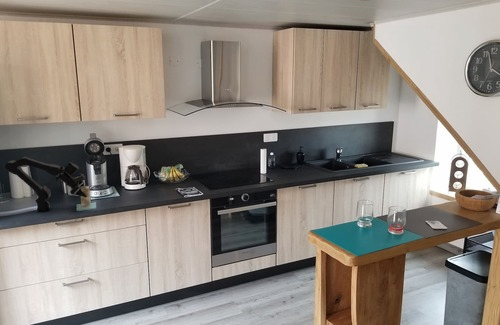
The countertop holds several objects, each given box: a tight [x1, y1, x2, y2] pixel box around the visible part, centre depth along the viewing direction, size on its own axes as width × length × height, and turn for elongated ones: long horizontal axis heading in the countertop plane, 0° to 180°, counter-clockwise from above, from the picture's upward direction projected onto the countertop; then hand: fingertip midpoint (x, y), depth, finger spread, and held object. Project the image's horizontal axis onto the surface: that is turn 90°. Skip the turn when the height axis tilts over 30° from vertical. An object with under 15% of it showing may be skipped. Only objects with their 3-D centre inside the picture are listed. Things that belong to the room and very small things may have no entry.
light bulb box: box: [67, 179, 86, 197], centre depth 285 cm, size 11×7×11 cm, turn 75°
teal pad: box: [76, 201, 97, 212], centre depth 258 cm, size 12×12×1 cm
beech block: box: [80, 185, 92, 207], centre depth 257 cm, size 5×5×13 cm
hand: (87, 194), depth 257 cm, fingers open, 9 cm apart
